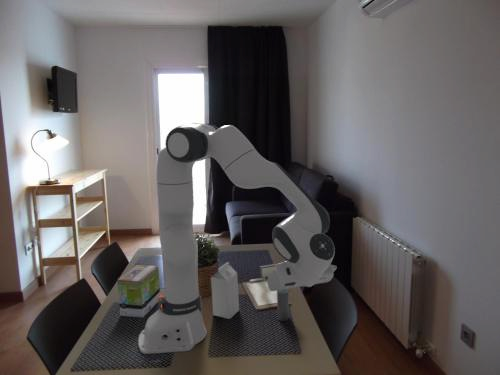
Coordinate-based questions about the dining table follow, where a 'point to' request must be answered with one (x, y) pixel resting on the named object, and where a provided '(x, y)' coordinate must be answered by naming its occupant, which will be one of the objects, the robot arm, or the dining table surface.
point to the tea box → (138, 290)
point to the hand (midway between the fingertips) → (294, 286)
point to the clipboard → (261, 294)
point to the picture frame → (266, 270)
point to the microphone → (283, 305)
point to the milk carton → (225, 292)
